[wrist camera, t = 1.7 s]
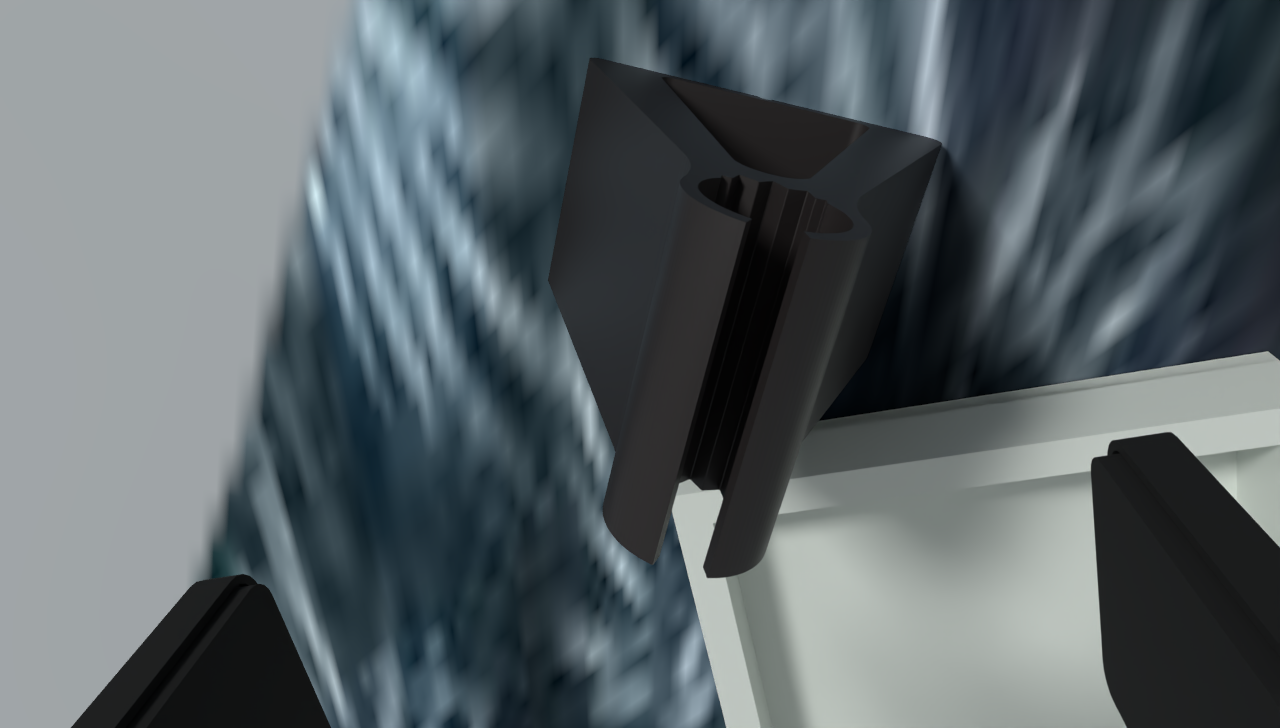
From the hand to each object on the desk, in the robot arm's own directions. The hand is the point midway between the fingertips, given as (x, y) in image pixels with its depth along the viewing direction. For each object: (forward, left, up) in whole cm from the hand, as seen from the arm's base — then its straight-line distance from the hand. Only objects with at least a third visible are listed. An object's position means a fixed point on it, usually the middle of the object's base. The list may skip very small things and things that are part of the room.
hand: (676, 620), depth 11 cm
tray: (-6, +15, -16) cm, 23 cm away
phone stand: (-1, 0, -17) cm, 17 cm away
